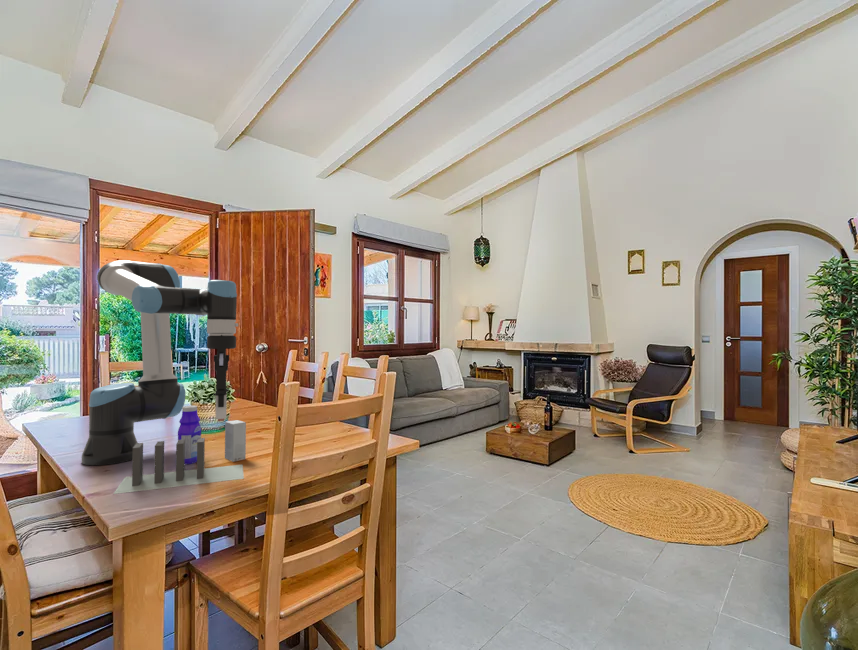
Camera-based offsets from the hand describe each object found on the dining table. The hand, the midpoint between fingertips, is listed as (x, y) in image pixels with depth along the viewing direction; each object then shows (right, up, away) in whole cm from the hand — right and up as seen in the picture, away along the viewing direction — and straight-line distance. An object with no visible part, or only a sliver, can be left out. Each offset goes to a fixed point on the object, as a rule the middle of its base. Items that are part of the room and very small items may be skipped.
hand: (221, 416), depth 128 cm
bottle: (-15, -17, +12) cm, 26 cm away
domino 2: (-14, -16, -6) cm, 22 cm away
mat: (-8, -17, -4) cm, 19 cm away
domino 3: (-9, -16, -4) cm, 19 cm away
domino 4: (-5, -16, -2) cm, 17 cm away
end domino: (0, -1, 0) cm, 1 cm away
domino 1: (-18, -16, -8) cm, 26 cm away
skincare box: (-3, -17, +15) cm, 23 cm away
